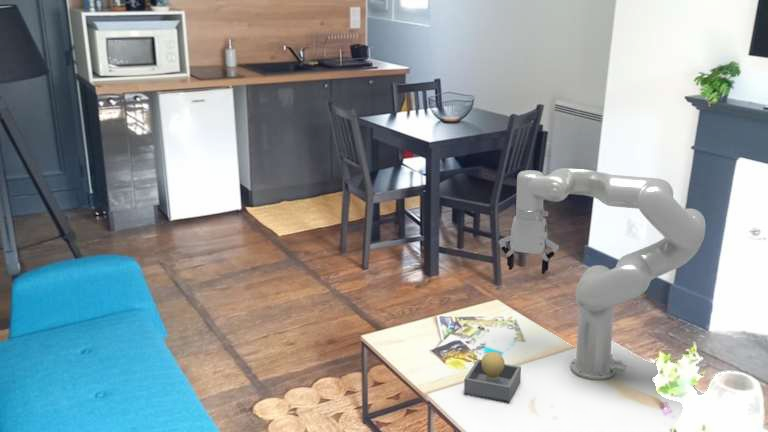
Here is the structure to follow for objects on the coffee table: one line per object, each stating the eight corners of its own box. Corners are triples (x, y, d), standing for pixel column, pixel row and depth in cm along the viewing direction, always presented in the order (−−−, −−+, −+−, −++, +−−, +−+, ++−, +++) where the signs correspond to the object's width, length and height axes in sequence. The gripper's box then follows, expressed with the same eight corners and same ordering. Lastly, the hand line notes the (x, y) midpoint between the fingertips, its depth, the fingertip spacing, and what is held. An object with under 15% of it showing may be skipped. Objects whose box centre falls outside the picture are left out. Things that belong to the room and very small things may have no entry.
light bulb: (480, 390, 199) (480, 357, 196) (481, 379, 205) (482, 347, 202) (503, 392, 198) (504, 359, 195) (504, 381, 204) (505, 348, 201)
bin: (520, 382, 205) (520, 366, 204) (509, 403, 194) (509, 387, 193) (477, 374, 210) (477, 359, 209) (464, 394, 199) (464, 379, 198)
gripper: (562, 213, 206) (559, 269, 211) (503, 208, 213) (501, 263, 218) (557, 220, 200) (554, 278, 204) (496, 214, 207) (495, 271, 211)
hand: (527, 270), depth 211 cm, fingers open, 9 cm apart
